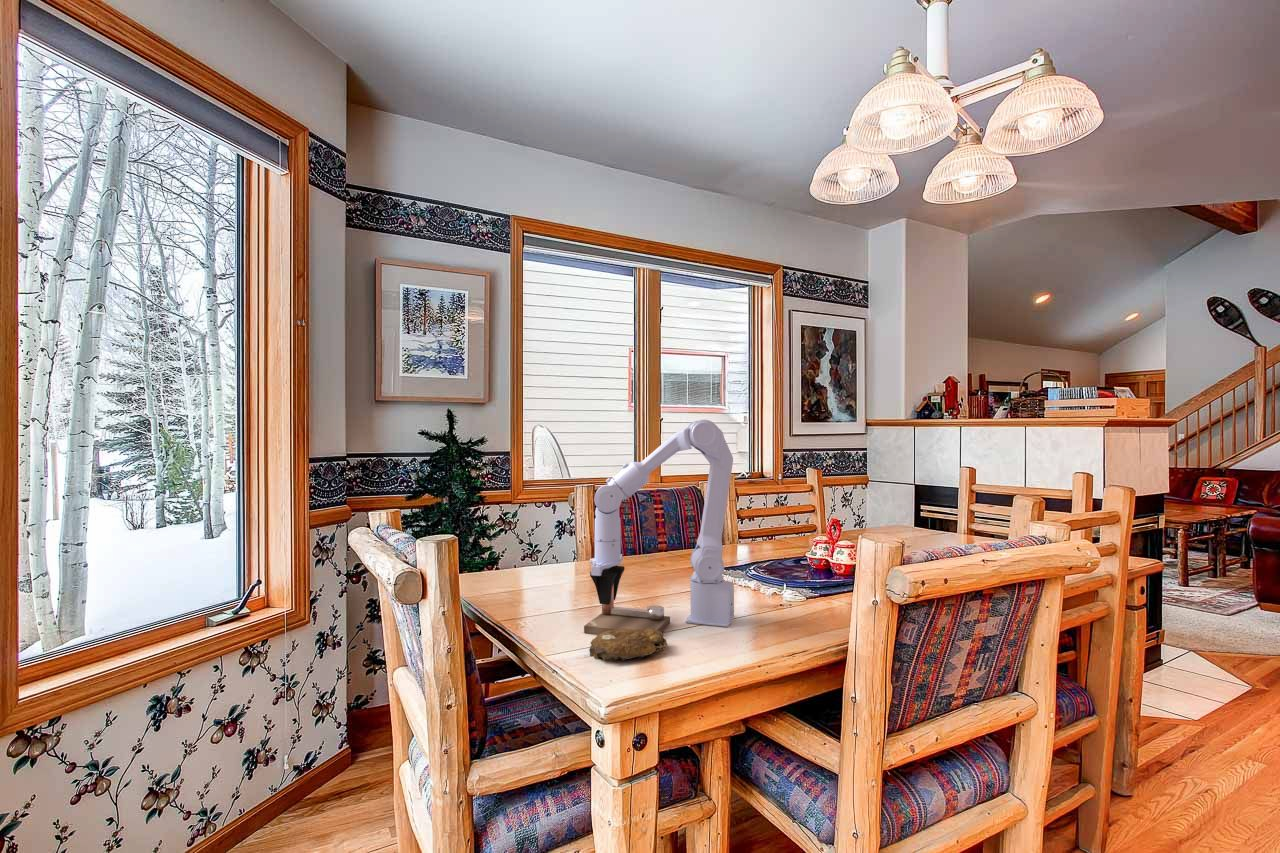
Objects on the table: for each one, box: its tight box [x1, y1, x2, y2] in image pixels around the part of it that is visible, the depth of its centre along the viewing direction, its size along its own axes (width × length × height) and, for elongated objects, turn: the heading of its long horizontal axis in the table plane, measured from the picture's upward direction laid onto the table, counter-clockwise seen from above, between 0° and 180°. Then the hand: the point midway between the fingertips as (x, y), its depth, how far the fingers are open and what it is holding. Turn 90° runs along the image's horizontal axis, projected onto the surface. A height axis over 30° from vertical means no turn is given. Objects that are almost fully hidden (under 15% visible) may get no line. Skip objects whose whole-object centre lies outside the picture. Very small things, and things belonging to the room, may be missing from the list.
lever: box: [601, 582, 665, 620], centre depth 134 cm, size 14×4×6 cm, turn 71°
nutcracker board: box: [583, 612, 671, 636], centre depth 131 cm, size 15×12×2 cm
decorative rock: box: [589, 628, 668, 661], centre depth 117 cm, size 11×4×15 cm
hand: (607, 601), depth 136 cm, fingers open, 3 cm apart
